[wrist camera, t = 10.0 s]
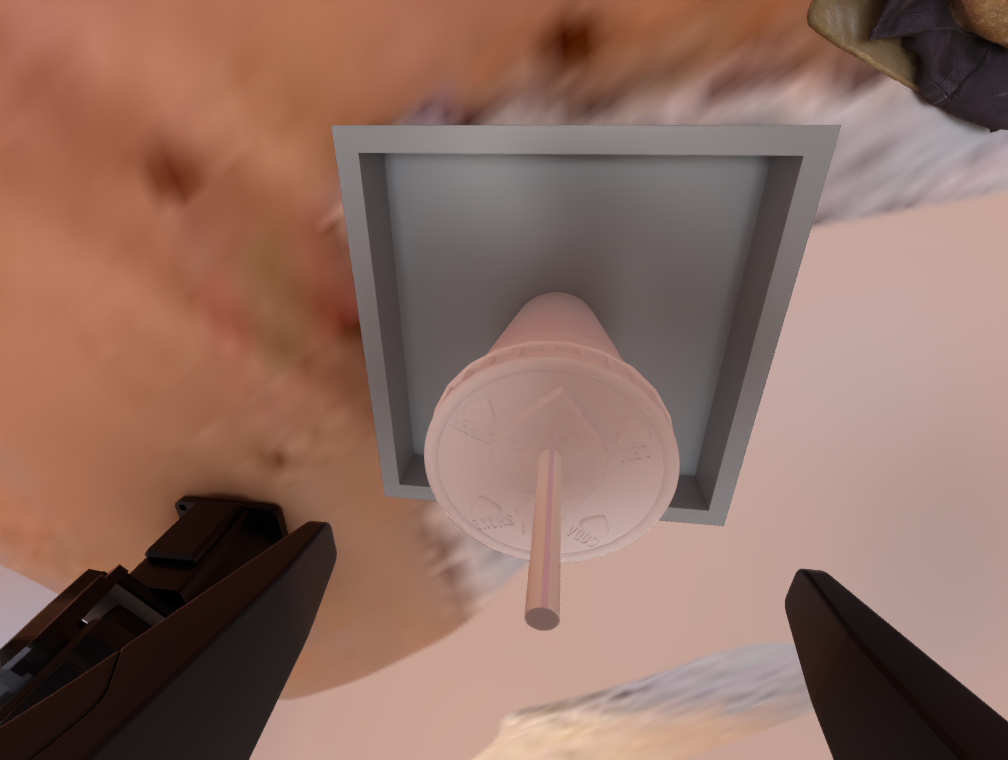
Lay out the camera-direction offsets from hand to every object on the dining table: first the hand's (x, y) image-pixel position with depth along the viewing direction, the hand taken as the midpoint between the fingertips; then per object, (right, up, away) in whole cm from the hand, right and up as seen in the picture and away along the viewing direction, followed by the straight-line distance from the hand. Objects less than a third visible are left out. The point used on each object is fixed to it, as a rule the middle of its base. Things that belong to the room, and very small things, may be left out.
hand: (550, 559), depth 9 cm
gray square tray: (+1, +6, +11) cm, 13 cm away
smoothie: (+1, +6, +11) cm, 13 cm away
